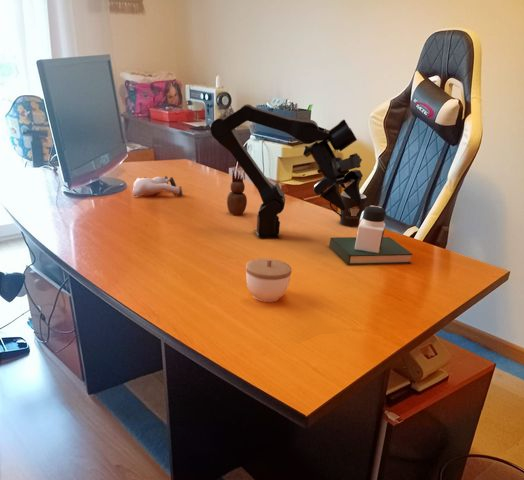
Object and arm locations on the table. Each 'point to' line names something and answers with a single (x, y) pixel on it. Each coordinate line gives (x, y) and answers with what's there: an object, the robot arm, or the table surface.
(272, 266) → the trinket box
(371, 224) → the medicine bottle
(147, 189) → the yeti figurine
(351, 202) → the coffee mug
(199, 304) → the table surface
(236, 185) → the wooden figurine
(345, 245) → the book
